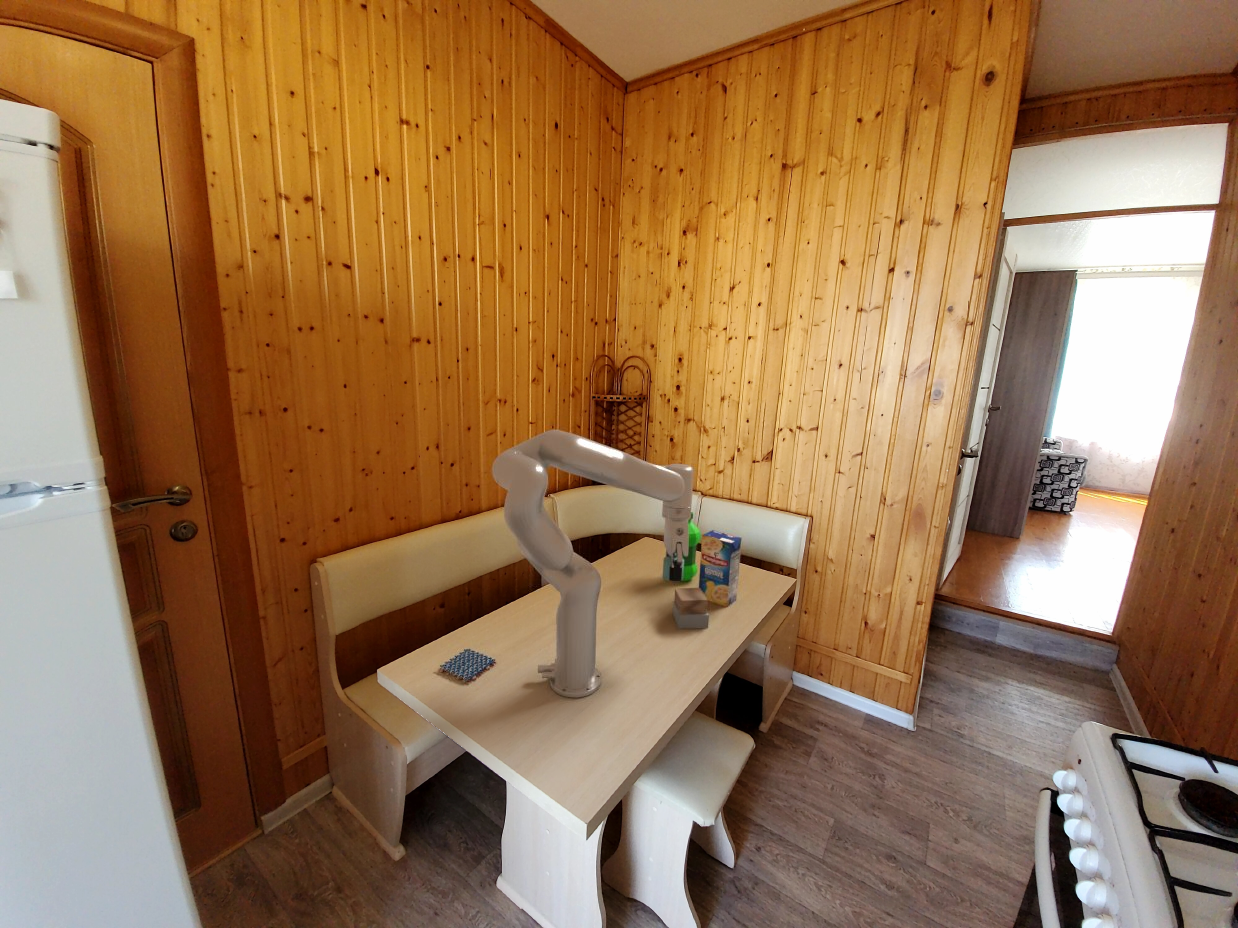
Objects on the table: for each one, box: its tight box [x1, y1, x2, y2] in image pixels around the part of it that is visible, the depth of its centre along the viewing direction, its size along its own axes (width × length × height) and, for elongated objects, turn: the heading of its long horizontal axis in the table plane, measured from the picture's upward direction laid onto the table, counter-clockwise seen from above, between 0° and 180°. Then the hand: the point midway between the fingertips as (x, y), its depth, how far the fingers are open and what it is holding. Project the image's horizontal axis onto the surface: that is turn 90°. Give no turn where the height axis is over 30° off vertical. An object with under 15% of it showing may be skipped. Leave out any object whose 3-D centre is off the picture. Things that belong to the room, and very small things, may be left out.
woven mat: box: [439, 648, 497, 685], centre depth 125 cm, size 10×11×2 cm
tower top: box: [673, 587, 709, 615], centre depth 151 cm, size 8×8×4 cm
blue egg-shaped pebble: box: [662, 556, 684, 583], centre depth 133 cm, size 6×6×5 cm
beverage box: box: [698, 529, 742, 608], centre depth 165 cm, size 7×11×22 cm, turn 50°
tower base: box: [672, 600, 710, 629], centre depth 151 cm, size 9×9×4 cm
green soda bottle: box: [676, 511, 702, 582], centre depth 179 cm, size 10×10×25 cm
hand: (672, 575), depth 133 cm, fingers closed on blue egg-shaped pebble, 5 cm apart
